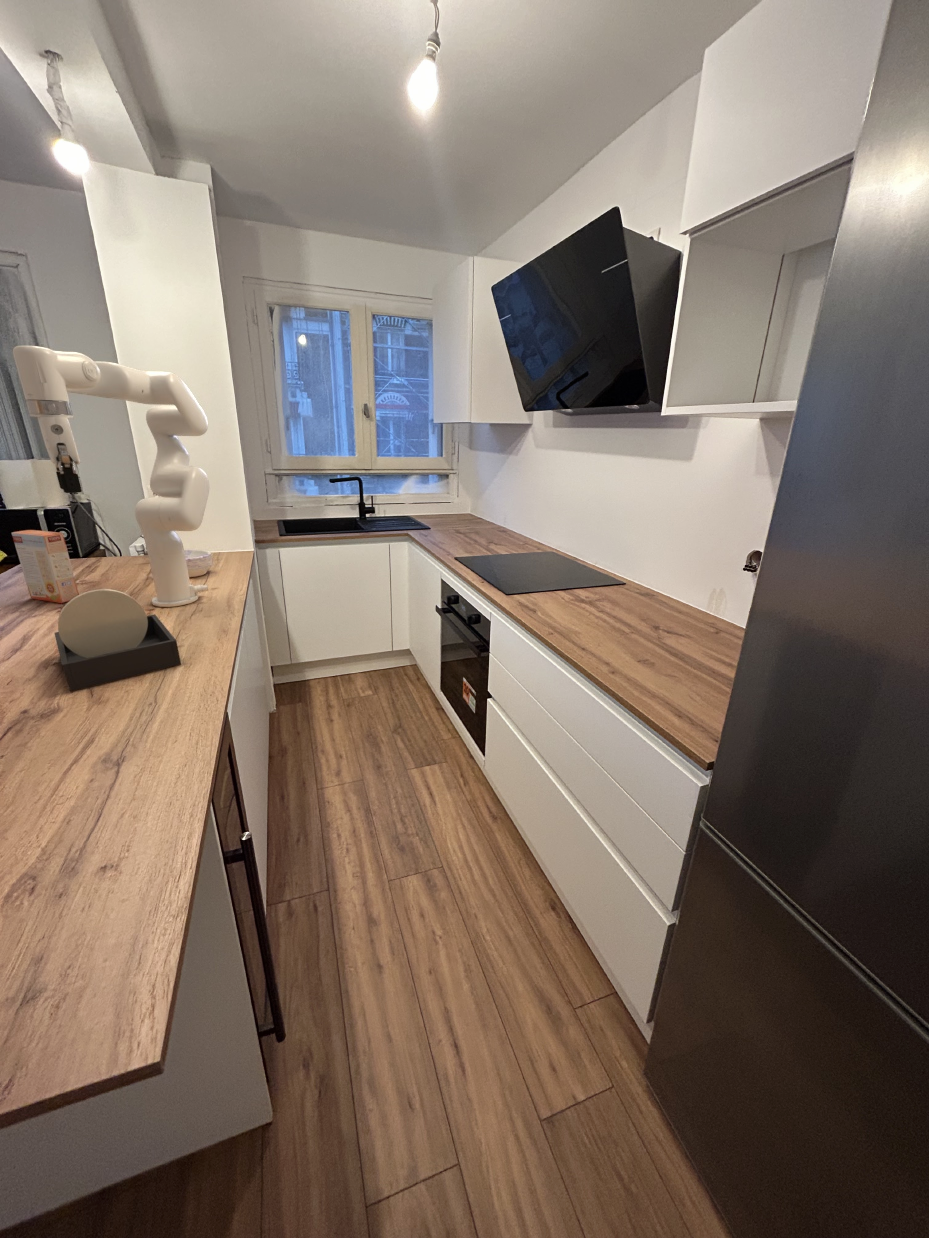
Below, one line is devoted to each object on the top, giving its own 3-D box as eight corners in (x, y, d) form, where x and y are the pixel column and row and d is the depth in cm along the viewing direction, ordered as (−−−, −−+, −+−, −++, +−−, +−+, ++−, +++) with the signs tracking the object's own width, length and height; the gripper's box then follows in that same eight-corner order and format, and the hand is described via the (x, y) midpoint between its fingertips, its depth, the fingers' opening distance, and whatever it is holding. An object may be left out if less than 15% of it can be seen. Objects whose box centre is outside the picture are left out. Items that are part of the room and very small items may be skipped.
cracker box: (81, 598, 152) (63, 532, 145) (61, 604, 147) (41, 535, 139) (51, 593, 156) (32, 528, 149) (30, 598, 151) (9, 531, 144)
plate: (157, 641, 116) (130, 579, 109) (158, 643, 115) (131, 580, 108) (77, 669, 107) (42, 603, 100) (78, 671, 106) (43, 605, 99)
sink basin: (159, 636, 125) (155, 614, 123) (181, 664, 110) (176, 640, 107) (61, 656, 112) (54, 632, 110) (70, 692, 97) (62, 665, 95)
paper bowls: (201, 580, 173) (197, 558, 171) (159, 579, 174) (154, 557, 171) (221, 569, 188) (218, 549, 185) (182, 569, 188) (179, 548, 185)
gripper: (75, 410, 103) (95, 493, 109) (68, 412, 115) (86, 486, 121) (29, 408, 98) (53, 495, 104) (26, 410, 110) (47, 488, 116)
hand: (71, 490), depth 112 cm, fingers open, 9 cm apart
